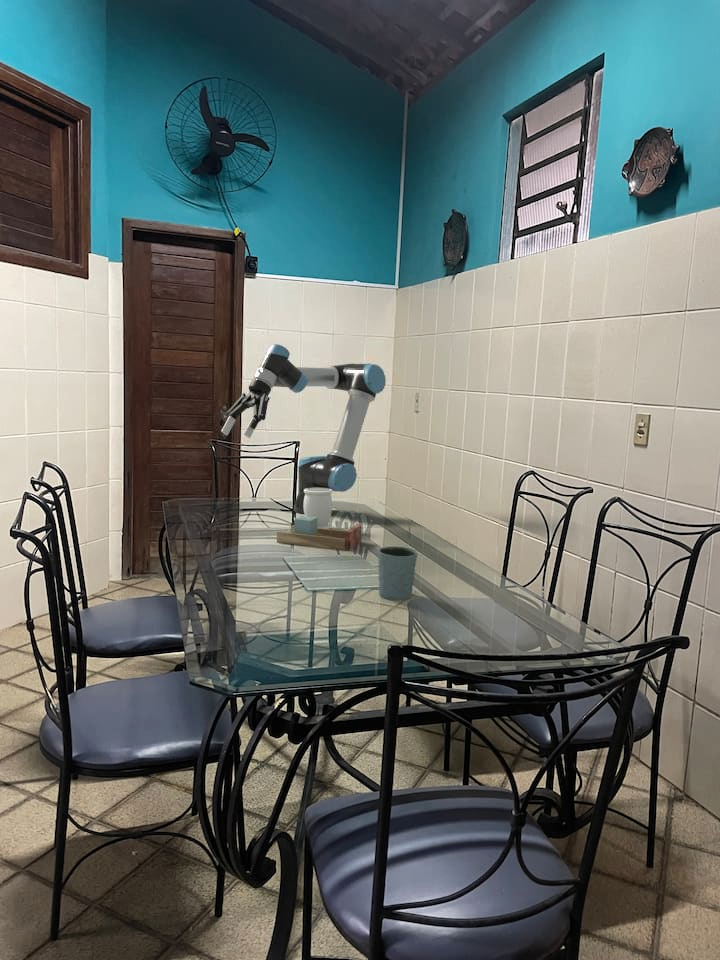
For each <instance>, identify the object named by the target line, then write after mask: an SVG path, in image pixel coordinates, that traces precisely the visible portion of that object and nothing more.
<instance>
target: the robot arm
mask: <svg viewBox="0 0 720 960" xmlns="http://www.w3.org/2000/svg"><path fill="white" fill-rule="evenodd" d="M290 355H291V353H290V351H289V350H288V349H287V348H286V347H285V346H283V345H282V344H279V343H277V344H276V343H274V344H272V345H271V346H270V347H269V348H268V350H267V352H266V353H265V356H264V358H263V359H262V361H261V363H260V365H259V367H258V369H256V373H255V375H254V376H253V379H252V380H251V382H250V383H249V385H248V390H249V392H248V393H245V392H243V393H241V394H240V395H241V396H240V397H239V398H238V399H237V400H236V401H235V403H234V404H233V405H232V406H231V407H230V408H229V409H228V410H227V411H226V415H228V416H227V417H228V418H227V419H226V421H225V423H224V425H223V427H222V428H221V431H220V432H221V433H222V434H224V435H225V436H228V435H229V434H230V432H231V430H232V428H233V426H234V424H235V422H236V421H237V419H236V418H238V417H239V416H240V415H241V414H242V413H244V412H245V411H246V410H247V409H250V408H253V415H252V417H251V419H250V420H249V422H248V424H247V426H246V427H245V430H244V431H243V433H242V434H243V436H245V437H247V438H248V439H251V437H252V435H253V434H254V431H255V429H257V427H258V424H259V422H261V421H265V420H266V416H267V410H268V404H269V401H270V399H271V398H270V397H269V395H270V394H271V392H272V389H273V388H274V387H277V388H288V389H289V390H290V391H292V392H293V393H295V394H298V393H301V392H302V391H304V389H306V387H325V388H327V389H329V390H339V391H344V392H345V391H346V392H347V393H348V395H349V398H348V401H347V403H346V407H345V410H344V413H343V416H342V419H341V423H340V426H339V428H338V432H337V435H336V438H335V441H334V444H333V448H332V451H331V452H329V453H327V455H318V456H317V455H314V456H305V457H304V456H303V457H301V458H300V459H299V460H298V467H297V469H298V472H297V473H298V493H297V496H296V498H295V502H294V505H293V511H294V513H295V512H296V513H297V514H298V513H299V514H304V507H303V505H304V497H305V493H304V489H307V488H328V489H331V490H332V492H341V493H342V492H343V493H344V492H347V491H348V490H350V489H351V488H352V487H353V486H354V485H355V483H356V480H357V476H358V475H357V469H356V467H355V463H356V462H355V460H354V453H355V451H356V447H357V444H358V441H359V437H360V435H361V433H362V432H361V431H362V429H363V425H364V423H365V418H366V416H367V412H368V409H369V406H370V403H372V402H374V401H375V399H376V395H377V394H380V393H382V392H383V391H384V389H385V387H386V375H385V372H384V369H383V368H382V367H381V366H379V365H378V364H374V363H345V364H344V363H343V364H340V365H339V364H337V365H328V366H326V367H308V366H307V367H301V366H299V367H297V366H295V365H294V364H293V363H292V362H291V361H290V360H289V358H290ZM304 515H305V514H304Z"/></svg>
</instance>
